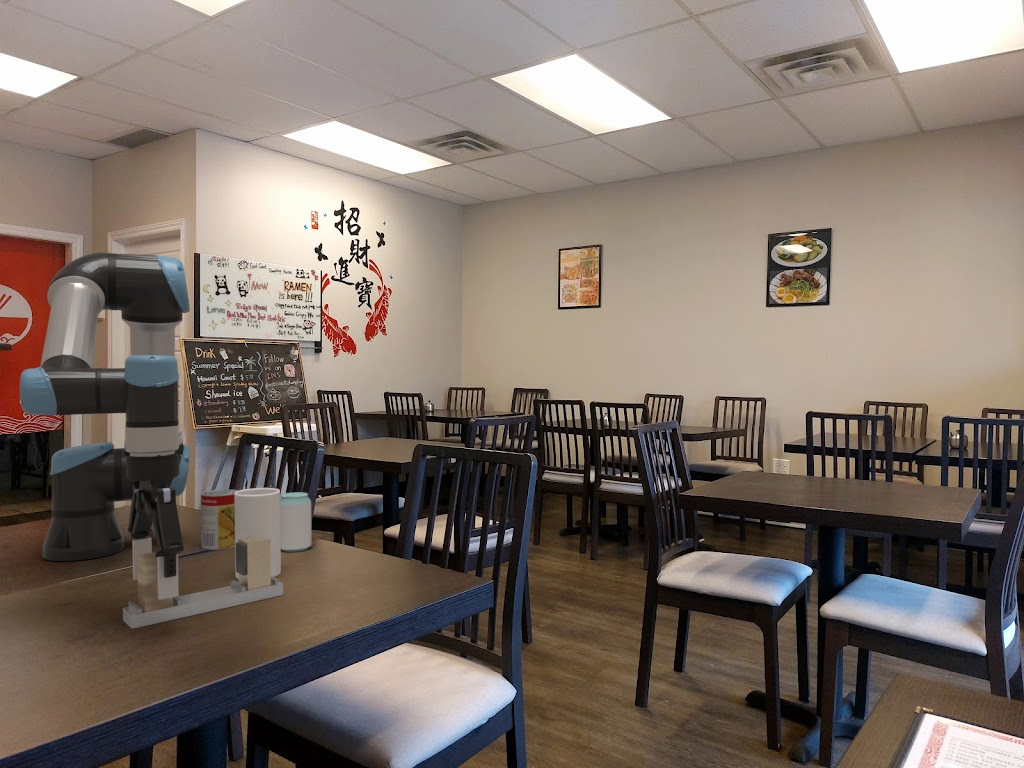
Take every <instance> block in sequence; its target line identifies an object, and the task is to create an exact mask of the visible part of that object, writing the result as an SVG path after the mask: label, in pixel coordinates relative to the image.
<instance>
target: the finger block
mask: <svg viewBox="0 0 1024 768" xmlns="http://www.w3.org/2000/svg"><path fill="white" fill-rule="evenodd" d="M155 554H156V551H154V552H152V553H148V554H142V555H137V572H138V580H137V605H138V606H139V607H141V608H142V609H143V610H144V611H145V612H147V611H152V610H156V609H161V608H166V607H170V606H173V597H171V598H166V599H161V600H159V599H158V565H157V557H155Z"/></svg>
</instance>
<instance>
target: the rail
mask: <svg viewBox="0 0 1024 768" xmlns="http://www.w3.org/2000/svg"><path fill="white" fill-rule="evenodd" d="M236 572H237V573H239V579H238V581H236V580H231V581H230V585H228V586H223V587H218V588H214V589H213V588H212V589H207V590H203V591H198V592H192V593H187V594H184V595H179V596H176V597H173V606H170V607H166V608H161V609H156V610H152V611H147V612H145V611H144V610H143V609H142V608H141V607H139V606H138V603H136V602H135V601H134V600H129V601H128V606H126V607H122V621H123V622H124V624H126V625H127V626H128V627H129V628H130V629H131V630H133V629H138V628H142V627H147V626H151V625H156V624H160V623H165V622H169V621H172V620H173V621H174V620H178V619H181V618H183V619H184V618H187V617H190V616H195V615H201V614H204V613H209V612H214V611H218V610H222V609H223V610H224V609H226V608H232V607H235V606H241V605H244V604H249V603H254V602H258V601H259V602H260V601H262V600H266V599H268V600H269V599H271V598H277V597H280V596H284V583H282V582H281V581H280V580H279V579H278V578H276V577H272V576H271V556H270V539H269V538H266V537H264V536H261V535H260V536H253V537H247V538H241V539H238V543H236Z"/></svg>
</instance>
